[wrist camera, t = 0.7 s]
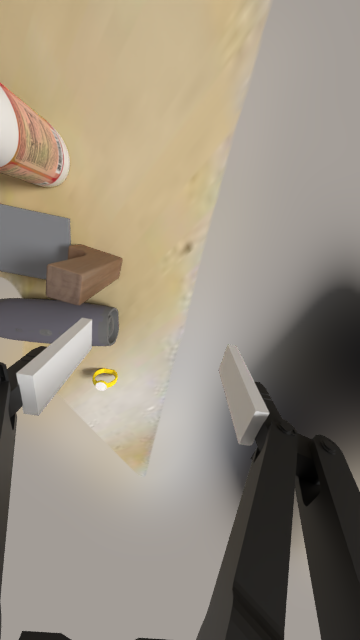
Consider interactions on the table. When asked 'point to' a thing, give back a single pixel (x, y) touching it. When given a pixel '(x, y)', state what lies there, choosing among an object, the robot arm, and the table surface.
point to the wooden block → (81, 274)
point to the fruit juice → (30, 144)
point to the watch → (102, 384)
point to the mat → (31, 241)
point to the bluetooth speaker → (55, 320)
